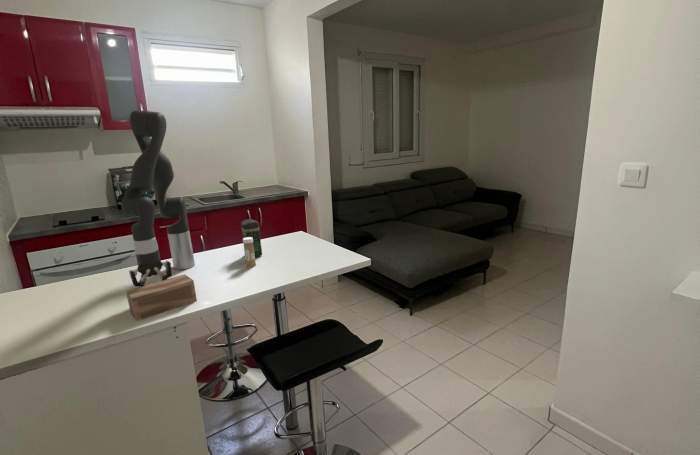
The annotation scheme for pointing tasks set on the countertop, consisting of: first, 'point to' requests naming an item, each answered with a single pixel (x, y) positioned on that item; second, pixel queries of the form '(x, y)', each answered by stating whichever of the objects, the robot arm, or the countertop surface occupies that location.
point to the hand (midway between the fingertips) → (155, 291)
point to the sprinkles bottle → (249, 251)
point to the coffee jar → (252, 235)
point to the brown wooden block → (161, 296)
